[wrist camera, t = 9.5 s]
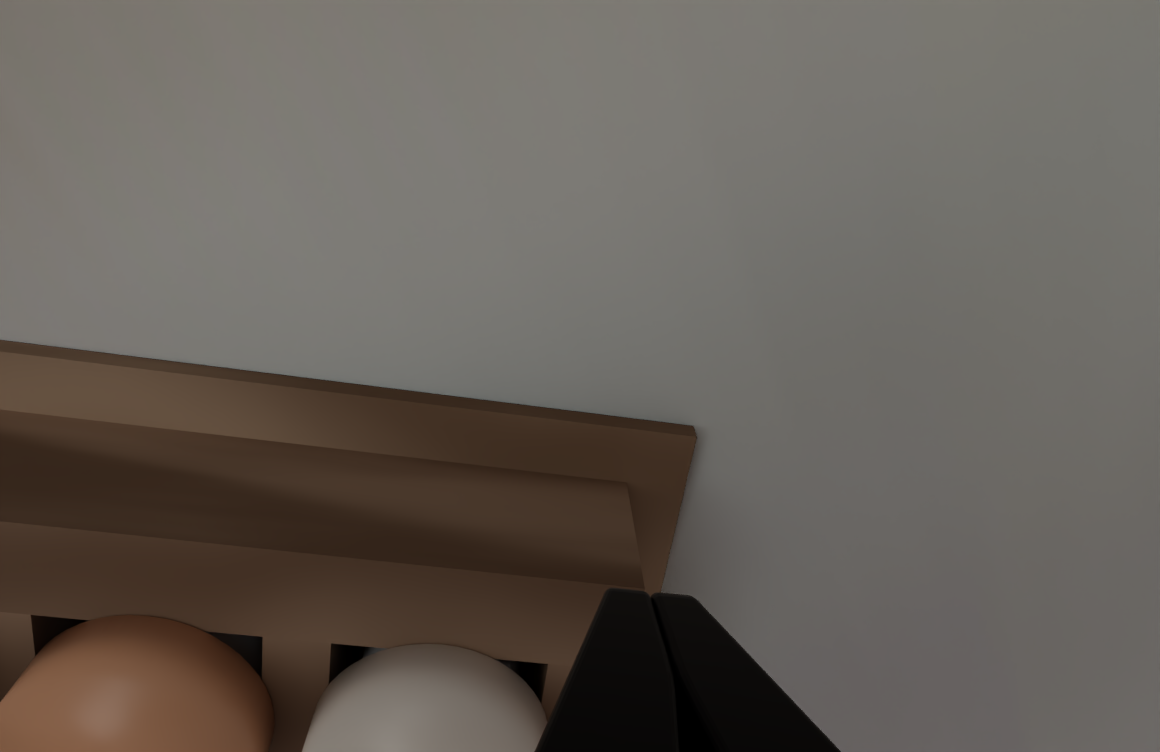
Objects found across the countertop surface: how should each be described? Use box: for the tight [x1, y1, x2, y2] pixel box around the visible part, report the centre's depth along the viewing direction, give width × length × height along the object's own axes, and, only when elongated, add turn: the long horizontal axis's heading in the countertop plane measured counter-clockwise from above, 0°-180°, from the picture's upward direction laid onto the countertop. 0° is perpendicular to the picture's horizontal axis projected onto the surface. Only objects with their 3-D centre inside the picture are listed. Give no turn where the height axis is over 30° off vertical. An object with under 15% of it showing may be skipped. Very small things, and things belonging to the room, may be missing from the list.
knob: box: [302, 644, 547, 752], centre depth 20 cm, size 5×5×5 cm
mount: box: [0, 340, 697, 752], centre depth 21 cm, size 12×23×5 cm, turn 81°
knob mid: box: [0, 615, 275, 752], centre depth 20 cm, size 5×5×5 cm
